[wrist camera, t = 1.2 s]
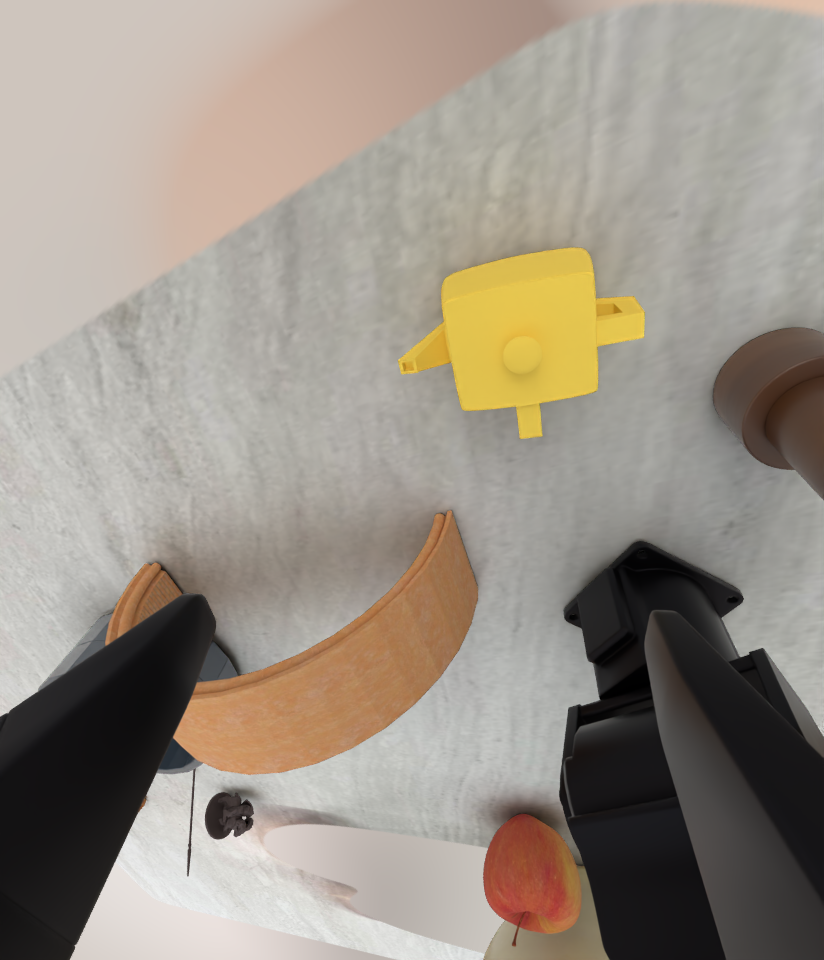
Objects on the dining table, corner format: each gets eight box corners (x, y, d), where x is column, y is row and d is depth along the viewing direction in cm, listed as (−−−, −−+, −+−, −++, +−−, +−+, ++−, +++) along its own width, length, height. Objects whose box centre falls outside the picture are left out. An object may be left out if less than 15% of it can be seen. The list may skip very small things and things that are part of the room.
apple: (589, 835, 41) (606, 964, 35) (511, 844, 45) (513, 964, 38) (548, 793, 39) (558, 924, 32) (468, 806, 42) (462, 928, 35)
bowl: (259, 647, 34) (222, 723, 30) (223, 719, 40) (188, 791, 36) (103, 580, 33) (38, 649, 28) (90, 666, 39) (36, 733, 34)
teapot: (432, 408, 22) (415, 468, 18) (402, 274, 19) (373, 308, 15) (621, 380, 20) (653, 440, 16) (620, 226, 17) (659, 250, 13)
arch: (479, 591, 28) (471, 773, 20) (191, 624, 34) (90, 777, 25) (452, 510, 25) (430, 683, 17) (142, 561, 31) (12, 710, 22)
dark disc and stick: (186, 876, 42) (222, 869, 40) (192, 768, 46) (225, 759, 45) (233, 865, 46) (267, 858, 45) (235, 767, 50) (266, 758, 49)
